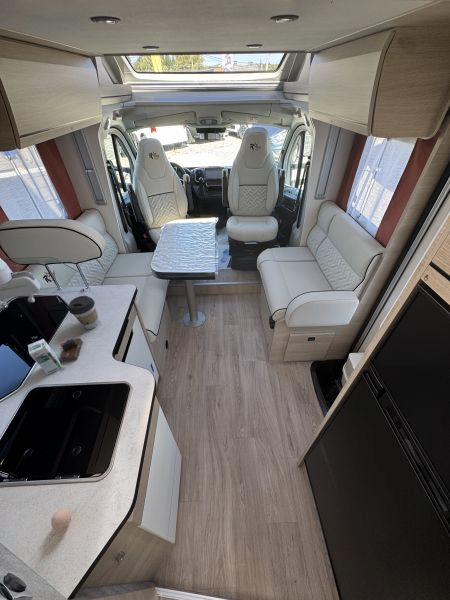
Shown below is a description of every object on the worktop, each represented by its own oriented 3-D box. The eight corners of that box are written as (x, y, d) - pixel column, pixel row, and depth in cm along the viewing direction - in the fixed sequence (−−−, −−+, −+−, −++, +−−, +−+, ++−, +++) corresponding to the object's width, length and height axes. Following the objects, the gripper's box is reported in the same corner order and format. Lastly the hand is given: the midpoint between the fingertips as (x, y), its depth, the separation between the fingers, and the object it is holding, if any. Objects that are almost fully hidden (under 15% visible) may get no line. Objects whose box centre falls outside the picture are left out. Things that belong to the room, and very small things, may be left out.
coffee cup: (75, 332, 124) (61, 310, 114) (86, 315, 132) (74, 293, 122) (97, 332, 123) (85, 310, 113) (107, 316, 131) (96, 294, 121)
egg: (66, 533, 69) (56, 531, 65) (53, 527, 70) (42, 524, 66) (77, 513, 72) (69, 509, 68) (64, 508, 73) (55, 504, 69)
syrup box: (47, 375, 106) (28, 354, 96) (45, 365, 110) (27, 344, 100) (62, 368, 108) (45, 347, 99) (59, 359, 112) (43, 337, 102)
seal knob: (75, 343, 114) (72, 338, 112) (76, 345, 113) (73, 340, 111) (63, 349, 112) (60, 344, 110) (64, 351, 111) (61, 346, 109)
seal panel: (81, 359, 112) (78, 354, 109) (59, 362, 111) (55, 358, 109) (86, 341, 119) (83, 337, 117) (66, 344, 118) (62, 340, 116)
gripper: (31, 265, 94) (49, 293, 104) (-33, 276, 90) (-8, 304, 99) (27, 274, 90) (46, 303, 99) (-41, 286, 85) (-14, 315, 95)
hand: (19, 304), depth 99 cm, fingers open, 8 cm apart
